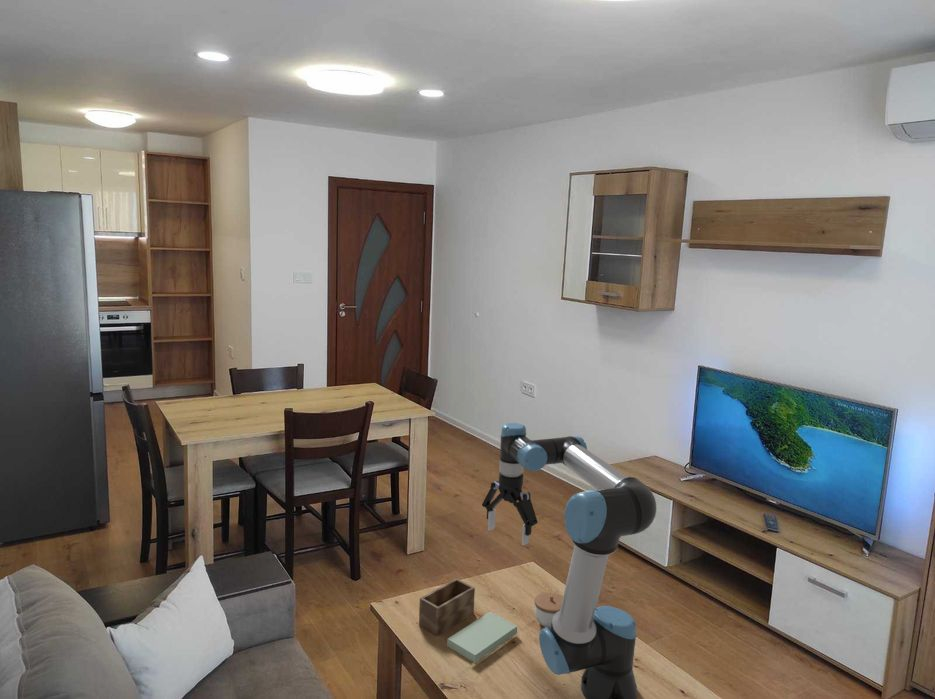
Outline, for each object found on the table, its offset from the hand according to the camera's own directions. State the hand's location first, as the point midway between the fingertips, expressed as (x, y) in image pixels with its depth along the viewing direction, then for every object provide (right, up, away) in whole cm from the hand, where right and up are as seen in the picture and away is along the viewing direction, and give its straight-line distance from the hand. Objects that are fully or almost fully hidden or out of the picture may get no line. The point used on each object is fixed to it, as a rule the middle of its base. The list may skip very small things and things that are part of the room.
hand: (507, 536), depth 212 cm
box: (-19, -28, +3) cm, 34 cm away
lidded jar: (+14, -29, +4) cm, 33 cm away
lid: (-8, -29, -7) cm, 31 cm away
